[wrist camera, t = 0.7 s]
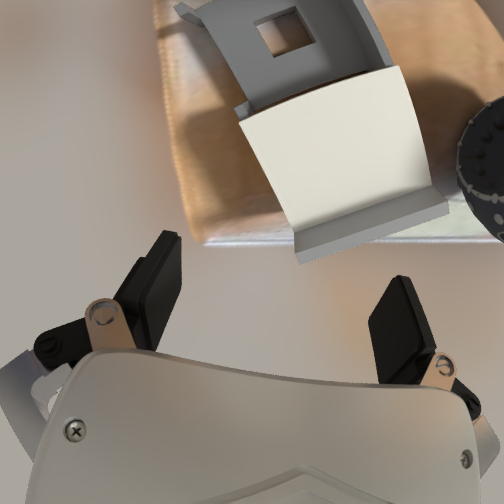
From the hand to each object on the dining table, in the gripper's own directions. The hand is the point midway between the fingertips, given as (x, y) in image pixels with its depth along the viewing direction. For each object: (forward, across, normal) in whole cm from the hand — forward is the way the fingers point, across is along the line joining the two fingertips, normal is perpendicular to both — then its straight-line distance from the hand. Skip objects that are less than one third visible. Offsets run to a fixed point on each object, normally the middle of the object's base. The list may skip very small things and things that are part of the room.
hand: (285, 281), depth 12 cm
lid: (+19, -6, -1) cm, 20 cm away
